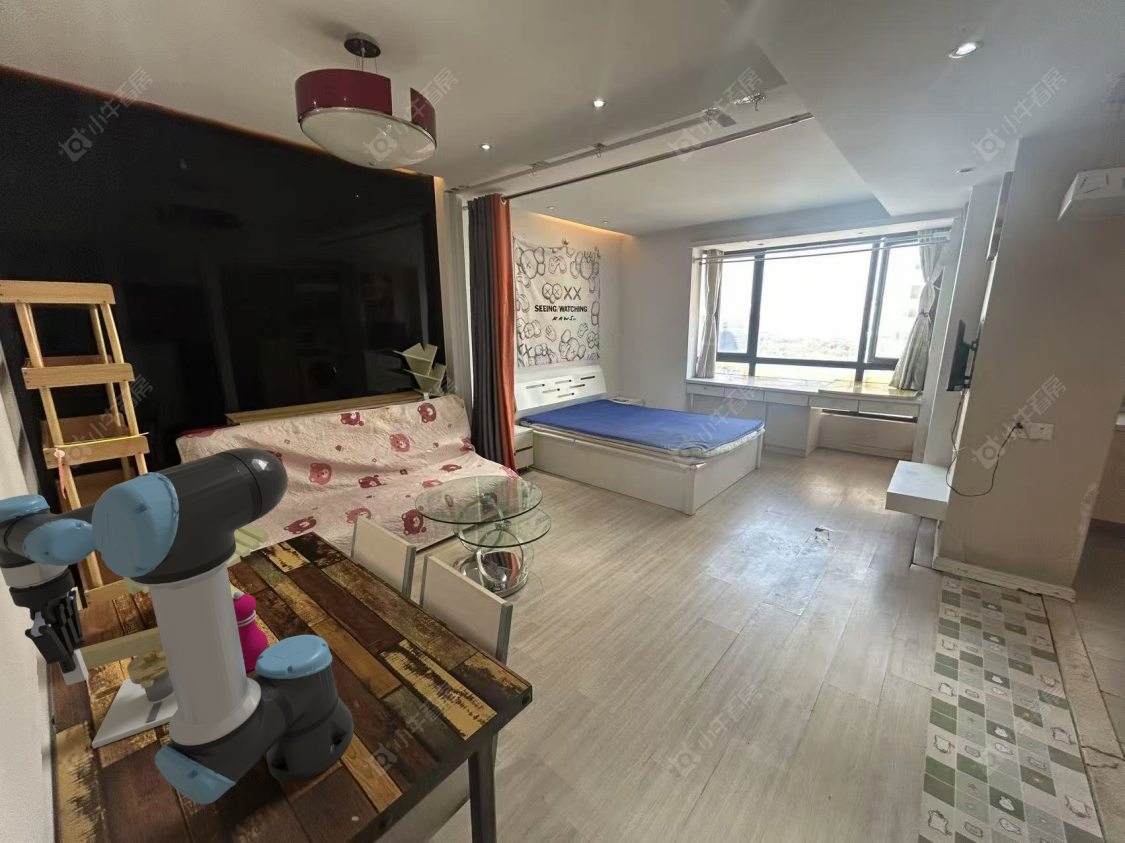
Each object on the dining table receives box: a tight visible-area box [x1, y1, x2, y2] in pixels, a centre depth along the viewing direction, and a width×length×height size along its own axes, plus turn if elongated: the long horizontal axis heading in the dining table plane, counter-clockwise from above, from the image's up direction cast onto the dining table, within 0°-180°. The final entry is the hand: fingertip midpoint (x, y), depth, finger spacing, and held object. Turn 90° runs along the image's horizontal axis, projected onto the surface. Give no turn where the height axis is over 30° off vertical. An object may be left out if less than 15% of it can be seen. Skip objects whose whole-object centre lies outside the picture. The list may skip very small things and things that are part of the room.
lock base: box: [91, 673, 178, 749], centre depth 100 cm, size 18×18×7 cm
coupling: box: [78, 626, 169, 689], centre depth 97 cm, size 11×22×10 cm, turn 119°
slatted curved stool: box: [122, 523, 270, 598], centre depth 131 cm, size 30×16×18 cm, turn 149°
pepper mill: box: [233, 590, 269, 672], centre depth 108 cm, size 7×7×20 cm
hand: (77, 680), depth 88 cm, fingers closed
